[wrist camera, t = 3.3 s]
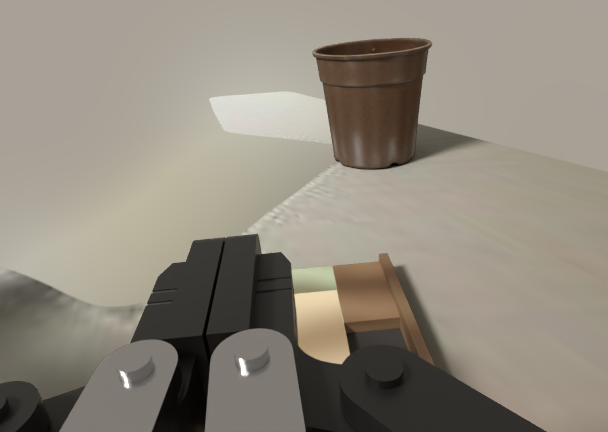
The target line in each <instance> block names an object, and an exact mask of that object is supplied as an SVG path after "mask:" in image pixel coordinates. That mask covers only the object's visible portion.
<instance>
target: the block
mask: <svg viewBox="0 0 608 432" xmlns="http://www.w3.org/2000/svg"><path fill="white" fill-rule="evenodd" d="M294 296H295V305H296V314H297V328H298V345H299V347H300V348H301V349H302V350H303V351H304V352H305V353H306V354H308V355H309V356H311V357H313V358H315V359H318V360H321V361H325V362H330V363H336V364H342V363H343V362H344V360H345V359H346V358H347V357H348V356H349V355H350V353H349V348H348V343H347V338H346V333H345V328H344V323H343V318H342V313H341V308H340V303H339V299H338V294H337V290H331V291H320V292H310V293H299V294H294Z"/></svg>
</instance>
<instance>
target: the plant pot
mask: <svg viewBox="0 0 608 432" xmlns="http://www.w3.org/2000/svg"><path fill="white" fill-rule="evenodd" d="M431 46H432V42H431V41H429V40H426V39H419V38H392V39H372V40H362V41H354V42H347V43H339V44H334V45H329V46H324V47H321V48H318V49H315V50H314V51H313V52H312V53H313V56H314V57H316V60H317V65H318V71H319V77H320V81H321V82H323V87H324V94H325V100H326V106H327V113H328V119H329V125H330V131H331V137H332V144H333V150H334V157H335V160H336V161H340V162H341V164H342V165H345V166H349V167H354V168H359V169H375V168H386V167H389V166H390V165H391V164H392V163H397V164H403V163H405V162H407V161H409V160H410V159H411V158H412V157H413V156H414V153H415V144H416V134H417V124H418V114H419V104H420V96H421V88H422V79H423V75H424V74H425V72H426V63H427V55H428V49H429V48H430V47H431Z"/></svg>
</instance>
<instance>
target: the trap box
mask: <svg viewBox="0 0 608 432" xmlns="http://www.w3.org/2000/svg"><path fill="white" fill-rule="evenodd" d="M292 279H293V288H294V294H299V293H310V292H320V291H331V290H337V294H338V299H339V303H340V308H341V313H342V318H343V323H344V328H345V333H346V338H347V343H348V348H349V353H350V354H352V353H353V352H355V351H357V350H359V349H361V348H364V347H368V346H373V345H391V346H396V347H400V348H403V349H406V350H408V351H410V352H412V353H413V354H415V355H417V356H419V357H420V358H422V359H424V360H425V361H427V362H429V363H430V364H432V365H434V362H433V360H432V358H431V355H430V353H429V350H428V348H427V346H426V343H425V341H424V339H423V336H422V334H421V332H420V329H419V327H418V324H417V322H416V320H415V317H414V315H413V313H412V310H411V308H410V306H409V303H408V301H407V298H406V296H405V294H404V291H403V289H402V287H401V284H400V282H399V280H398V277H397V275H396V272H395V270H394V268H393V265H392V263H391V261H390V258H389V256H388V254H387V253H384V254H379V262H369V263H359V264H348V265H338V266H327V267H317V268H306V269H296V270H292ZM434 366H435V365H434Z"/></svg>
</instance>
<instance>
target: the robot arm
mask: <svg viewBox="0 0 608 432" xmlns="http://www.w3.org/2000/svg"><path fill="white" fill-rule="evenodd" d="M147 303H148V306H146V307H145V310H144V312H143V314H142V317H141V319H140V321H139V324H138V326H137V328H136V331H135V333H134V336H133V338H132V340H131V343H130V344H128V345H125V346H123V347H121V348H119V349H117V350H115V351H114V352H112V353H111V354H109V355H108V356H107V357H106V358H105V359H103V361H102V362H101V363H100V364H99V365H98V367H97V368H96V369H95V371H94V373H93V375H92V376H91V378H90V380H89V381H88V383H87V385H86V386H84V387H82V388H79V389H76V390H73V391H70V392H67V393H64V394H61V395H58V396H55V397H52V398H49V399H46V400H44V401H42V399H41V397H40V395H39V392H38V390H37V388H36V387H35V386H34V385H32V384H30V383H27V382H22V381H13V382H6V383H1V384H0V432H546V431H544V430H543V429H541V428H539V427H538V426H536V425H534V424H533V423H531V422H529V421H527V420H526V419H524V418H522V417H521V416H519V415H517V414H516V413H514V412H512V411H510V410H509V409H507V408H505V407H504V406H502V405H500V404H499V403H497V402H495V401H493V400H492V399H490V398H488V397H487V396H485V395H483V394H482V393H480V392H478V391H476V390H475V389H473V388H471V387H470V386H468V385H466V384H464V383H463V382H461V381H459V380H458V379H456V378H454V377H453V376H451V375H449V374H447V373H446V372H444V371H442V370H441V369H439V368H437V367H436V366H434V365H432V364H430V363H429V362H427V361H425V360H424V359H422V358H420V357H419V356H417V355H415V354H413V353H412V352H410V351H408V350H406V349H403V348H400V347H396V346H391V345H373V346H368V347H364V348H361V349H359V350H357V351H355V352H353V353H352V354H350V355H349V356H348V357H347V358H346V359H345V360H344V362H343V363H342V364H336V363H330V362H325V361H321V360H318V359H315V358H313V357H311V356H309V355H308V354H306V353H305V352H304V351H303V350H302V349H301V348H300V347H299V345H298V328H297V314H296V305H295V296H294V288H293V279H292V270H291V263H290V262H289V260H288V259H287V258H286V257H285V256H284V255H283V254H282V253H281V252H278V253H268V254H261V247H260V241H259V236H258V234H253V235H243V236H234V237H227V238H225V237H224V238H214V239H204V240H195V241H193V243H192V246H191V249H190V252H189V255H188V257H187V260H186V262H180V263H173V264H171V265H170V266H169V267H168V268H167V269H166V270H165V271H164V272H163V273H162V274H161V275H160V276H159V277H158V279H157V281H156V284H155V286H154V288H153V293H152V294H151V296H150V298H149V300H148V302H147Z"/></svg>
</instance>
